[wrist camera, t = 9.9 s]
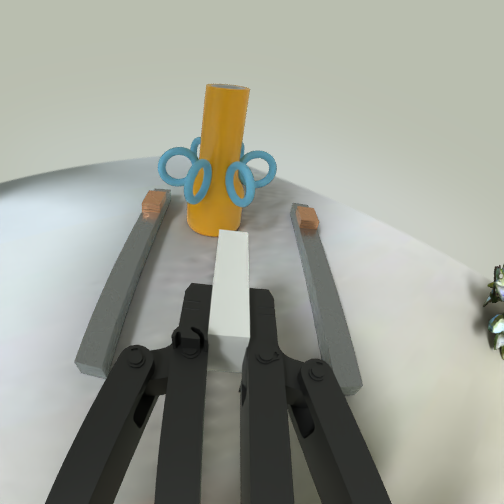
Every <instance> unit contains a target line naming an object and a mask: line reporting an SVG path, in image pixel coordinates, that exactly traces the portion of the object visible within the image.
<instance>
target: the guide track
mask: <svg viewBox="0 0 504 504" xmlns="http://www.w3.org/2000/svg"><path fill="white" fill-rule="evenodd" d="M170 201H171V190H165V189H155V190H154V191H149V192H148V194H147V195H146V197H145V199H144V200H143V202H142V213H141V214H140V216H139V218H138V220H137V222H136V224H135V226H134V227H133V229H132V231H131V233H130V235H129V237H128V239H127V241H126V243H125V245H124V247H123V249H122V251H121V253H120V255H119V257H118V259H117V261H116V263H115V265H114V267H113V269H112V271H111V274H110V276H109V278H108V280H107V282H106V284H105V287H104V289H103V291H102V293H101V296H100V298H99V300H98V303H97V305H96V307H95V310H94V312H93V314H92V317H91V319H90V322H89V324H88V327H87V329H86V332H85V335H84V337H83V340H82V342H81V345H80V348H79V351H78V353H77V356H76V359H75V364H76V365H77V367H78V368H79V370H80V372H81V373H83V374H87V375H92V376H96V377H100V378H105V379H107V377H108V373H109V370H110V366H111V363H112V359H113V356H114V352H115V349H116V345H117V342H118V339H119V336H120V332H121V329H122V326H123V323H124V320H125V317H126V314H127V311H128V308H129V305H130V302H131V299H132V296H133V294H134V291H135V288H136V285H137V282H138V280H139V277H140V274H141V272H142V269H143V266H144V264H145V261H146V259H147V256H148V253H149V251H150V248H151V246H152V243H153V241H154V238H155V236H156V234H157V231H158V229H159V226H160V224H161V222H162V219H163V217H164V215H165V212H166V210H167V208H168V205H169V203H170ZM290 215H291V219H292V223H293V227H294V231H295V236H296V240H297V244H298V248H299V253H300V257H301V261H302V266H303V270H304V275H305V279H306V284H307V288H308V293H309V298H310V302H311V307H312V312H313V317H314V322H315V327H316V332H317V337H318V342H319V347H320V352H321V358H322V360H323V361H325V362H326V363H327V364H329V366H330V367H331V368H332V370H333V372H334V374H335V377H336V379H337V381H338V383H339V385H340V387H341V390H342V392H343V394H344V396H348V395H354V394H355V393H356V392H357V391H358V390H359V389H360V388H361V387H362V386H363V384H362V380H361V376H360V372H359V368H358V364H357V360H356V356H355V352H354V348H353V345H352V341H351V337H350V334H349V330H348V327H347V323H346V320H345V316H344V313H343V309H342V306H341V303H340V299H339V296H338V293H337V290H336V286H335V283H334V280H333V277H332V274H331V271H330V267H329V264H328V261H327V258H326V255H325V252H324V249H323V246H322V243H321V240H320V237H319V235H318V232H317V227H318V224H319V220H318V218H317V215H316V212H315V210H314V208H309V206H308V205H303V204H296V203H292V208H291V212H290Z"/></svg>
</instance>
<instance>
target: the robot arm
mask: <svg viewBox="0 0 504 504" xmlns="http://www.w3.org/2000/svg"><path fill="white" fill-rule="evenodd" d="M207 370H210V371H221V372H235V373H241V371H242V381H241V384H240V388H239V392H240V476H241V504H294V495H293V480H292V465H291V451H290V438H289V425H288V413H287V409H288V412H289V415H290V418H291V420H292V423H293V426H294V429H295V432H296V434H297V437H298V440H299V443H300V445H301V448H302V451H303V453H304V456H305V459H306V462H307V464H308V467H309V470H310V472H311V475H312V478H313V480H314V483H315V486H316V488H317V491H318V494H319V496H320V499H321V502H322V504H392V503H391V501H390V499H389V496H388V494H387V491H386V489H385V487H384V484H383V482H382V480H381V477H380V475H379V473H378V470H377V468H376V466H375V463H374V461H373V459H372V457H371V454H370V452H369V450H368V447H367V445H366V443H365V441H364V438H363V436H362V434H361V432H360V429H359V427H358V425H357V423H356V420H355V418H354V416H353V414H352V412H351V409H350V407H349V405H348V403H347V401H346V398H345V396H344V394H343V392H342V390H341V387H340V385H339V383H338V381H337V379H336V377H335V374H334V372H333V370H332V368H331V367H330V366H329V364H327V363H326V362H325V361H323V360H320V359H310V360H308V361H306V362H305V363H304V362H301V361H298V360H294V359H292V358H289V357H288V356H286V355H285V354H284V353H283V352H282V351H281V350H280V348H279V346H278V340H277V329H276V319H275V309H274V298H273V297H272V295H271V293H270V292H269V290H266V289H255V288H249V253H248V232H239V231H230V230H221V229H219V237H218V245H217V254H216V262H215V271H214V280H213V285H206V284H197V283H191V284H190V286H189V287H188V288H187V289H186V291H185V296H184V302H183V306H182V312H181V317H180V323H179V327H177V328H176V329H175V330H174V332H173V334H172V344H171V345H170V346H168V347H166V348H162V349H157V350H151V351H149V349H147V348H146V347H144V346H140V345H133V346H129V347H127V348H125V349H124V350H123V351H122V353H121V354H120V356H119V357H118V359H117V361H116V363H115V364H114V366H113V368H112V370H111V372H110V373H109V375H108V377H107V379H106V381H105V382H104V384H103V386H102V388H101V390H100V391H99V393H98V395H97V397H96V399H95V401H94V403H93V404H92V406H91V408H90V410H89V412H88V414H87V416H86V418H85V420H84V422H83V424H82V426H81V428H80V429H79V431H78V433H77V435H76V437H75V439H74V441H73V444H72V446H71V448H70V450H69V452H68V454H67V456H66V458H65V460H64V462H63V464H62V466H61V469H60V471H59V473H58V475H57V477H56V480H55V482H54V484H53V486H52V489H51V491H50V493H49V495H48V498H47V500H46V503H45V504H113V503H114V500H115V498H116V495H117V493H118V490H119V488H120V486H121V483H122V481H123V478H124V476H125V473H126V471H127V469H128V466H129V464H130V462H131V459H132V457H133V455H134V452H135V450H136V447H137V445H138V443H139V440H140V438H141V436H142V434H143V431H144V429H145V427H146V424H147V422H148V420H149V417H150V415H151V413H152V411H153V408H154V406H155V404H156V402H157V399H158V397H159V395H164V394H166V397H165V404H164V412H163V420H162V428H161V436H160V445H159V455H158V465H157V477H156V489H155V503H154V504H200V499H201V468H202V445H203V426H204V408H205V393H206V376H207Z"/></svg>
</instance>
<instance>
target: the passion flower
mask: <svg viewBox="0 0 504 504" xmlns="http://www.w3.org/2000/svg"><path fill="white" fill-rule="evenodd" d="M500 274H503V278H502V279H501V278H499V275H500ZM488 287H490V288H493V290H492V292H491V293H490V296H489V297H488V299H487V300H486V302H485V304H484V305H483V307H484V306H486V305H487V304H488V303H490V302H492V303H496V302H498V301H503V302H504V265H503V268H502V269H501V266H500V265H499V267H498V266H497V267H495V269H494V282H492V283H490V284H489V285H488ZM495 289H496V291H495ZM488 330H489V331H490V332H492V333H496V335H495V339H494V350H496V349H498V348H500V347H501V355H502V359H503V360H504V313H502V314H500V315H496V316H494V317H493V318H492V319H491V320H490V321H489V324H488Z"/></svg>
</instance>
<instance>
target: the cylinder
mask: <svg viewBox="0 0 504 504" xmlns="http://www.w3.org/2000/svg"><path fill="white" fill-rule="evenodd" d="M249 92H250V89H249V88H247V87H242V86H236V85H227V84H207V85H206V93H205V101H204V111H203V122H202V133H201V137H197V138H195V139H194V140H193V142H192V144H191V149H190V150H189V149H187V148H184V147H176V148H172V149H169V150H168V151H166V152H165V153H164V154H163V155H162V156H161V158H160V160H159V163H158V172H159V175H160V177H161V178H162V180H163V181H165V182H166V183H167V184H169V185H172V186H184V196H185V199H186V201H187V223H188V225H189V227H190V228H191V229H192V230H194V231H195V232H197V233H199V234H202V235H205V236H213V237H219V229H221V230H230V231H236V230H237V229H238V227H239V226H240V222H241V215H242V208H243V207H246V206H248V205H249V204H250V203H251V202H252V200H253V198H254V195H255V188H260V187H263V186H265V185H267V184H268V183H270V182H271V181H272V180H273V178H274V176H275V174H276V170H277V168H276V167H277V166H276V162H275V160H274V158H273V157H272V156H271V155H270V154H268V153H267V152H264V151H252V152H249V153H247V154H245V155H244V144H243V142H242V140H243V133H244V126H245V119H246V112H247V105H248V98H249ZM199 144H200V155H199V159H198V157H197V147H198V145H199ZM175 155H184V156H186V157H188V158H189V159H190V161H191V163H192V166H191V168H190V170H189V171H188V174H187V176H186V177H185V178H182V179H175V178H172V177H170V176H169V175H168V174H167V172H166V168H165V166H166V163H167V161H168V160H169V159H170V158H171V157H172V156H175ZM254 158H262V159H264V160H266V161H267V162H268V164H269V172H268V174H267V175H266V177H265V178H263V179H261V180H259V181H254V177H253V174H252V172H251V170H250V169H249V167H248V166H247V165H246V163H247V162H248V161H250V160H251V159H254ZM241 183H242V184H243V185H245V186H246V194H245V197H244V189H243V186H242V184H241Z"/></svg>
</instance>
